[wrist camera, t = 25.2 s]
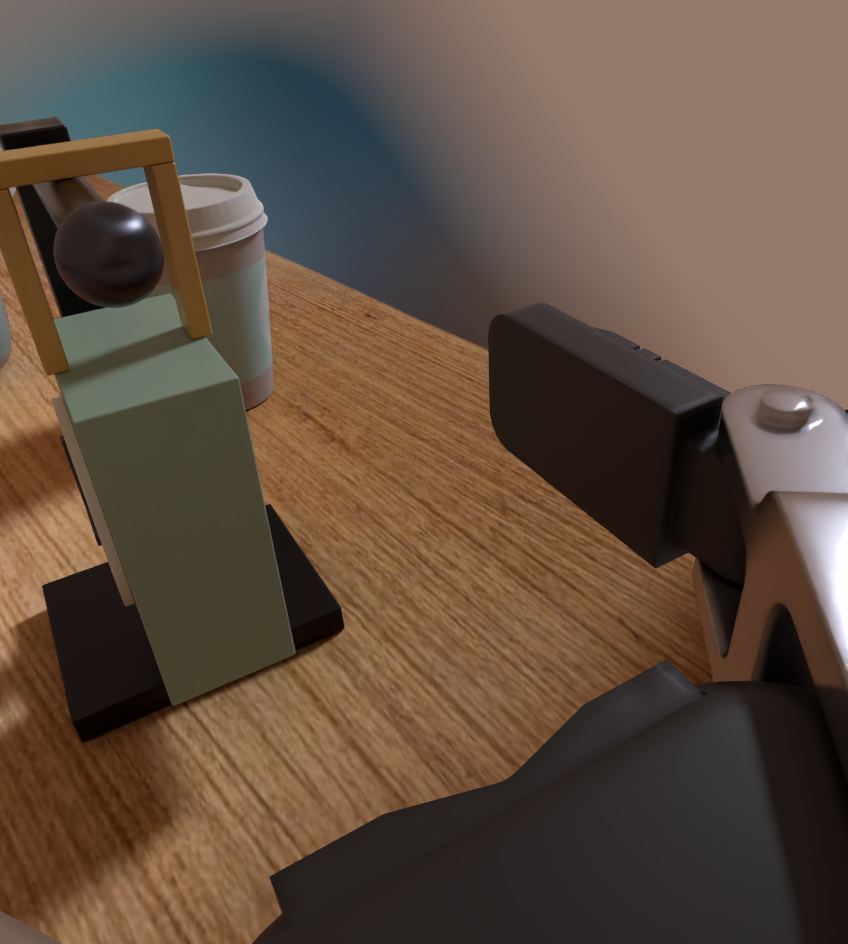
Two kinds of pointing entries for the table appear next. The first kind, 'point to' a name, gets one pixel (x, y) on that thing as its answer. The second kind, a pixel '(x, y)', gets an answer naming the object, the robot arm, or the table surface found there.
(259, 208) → the coffee cup
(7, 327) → the cup
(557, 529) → the table surface
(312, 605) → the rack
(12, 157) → the green box with handle
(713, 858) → the robot arm
